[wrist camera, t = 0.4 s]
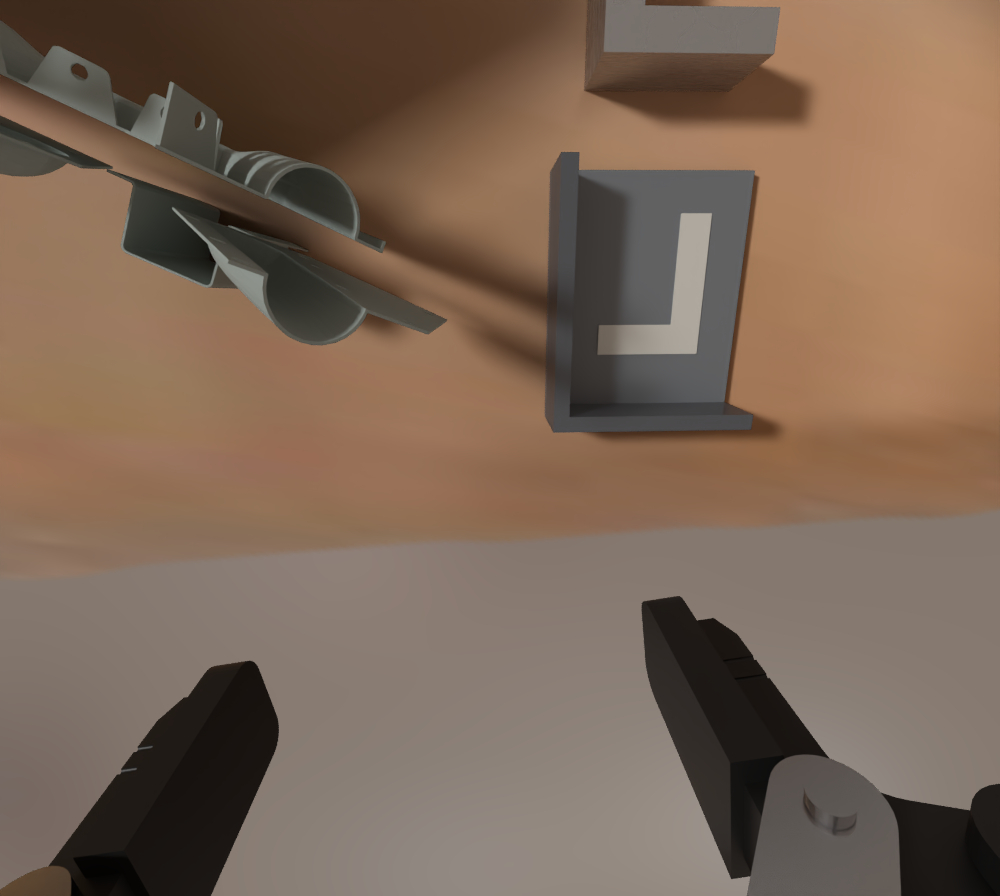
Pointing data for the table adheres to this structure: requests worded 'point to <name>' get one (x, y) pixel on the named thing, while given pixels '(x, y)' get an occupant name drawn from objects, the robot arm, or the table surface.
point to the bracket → (194, 224)
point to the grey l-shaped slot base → (643, 297)
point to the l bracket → (675, 45)
